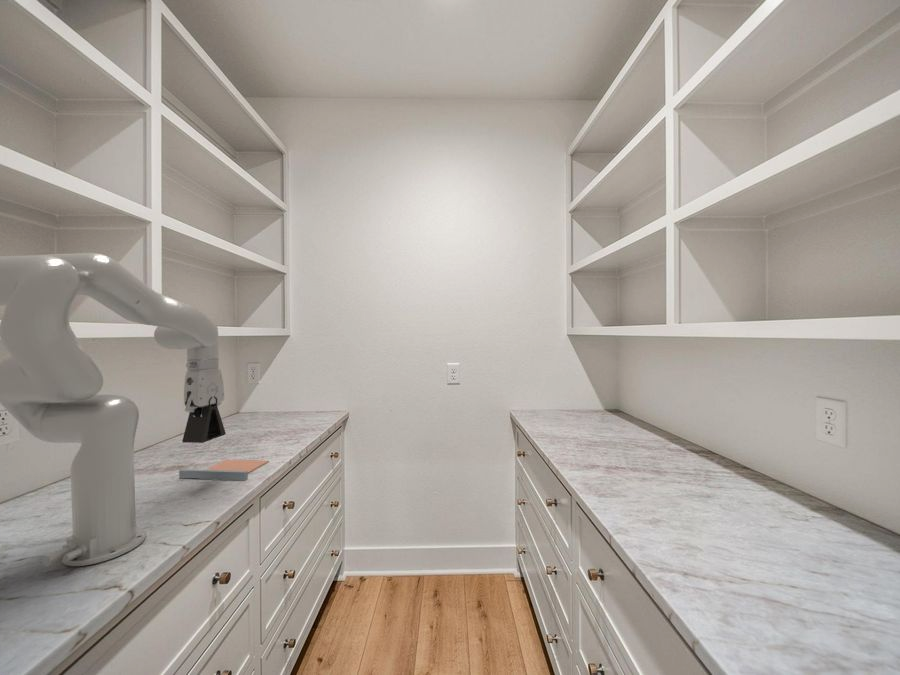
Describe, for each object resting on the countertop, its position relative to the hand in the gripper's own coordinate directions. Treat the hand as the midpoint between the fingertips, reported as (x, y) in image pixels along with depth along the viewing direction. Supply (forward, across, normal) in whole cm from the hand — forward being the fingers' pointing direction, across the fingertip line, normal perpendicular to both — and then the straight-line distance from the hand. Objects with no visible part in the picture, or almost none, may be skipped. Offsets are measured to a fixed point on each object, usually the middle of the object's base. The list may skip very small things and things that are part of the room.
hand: (204, 429), depth 106 cm
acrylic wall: (+17, +6, +3) cm, 18 cm away
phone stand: (+3, 0, 0) cm, 3 cm away
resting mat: (+17, +15, +3) cm, 23 cm away
